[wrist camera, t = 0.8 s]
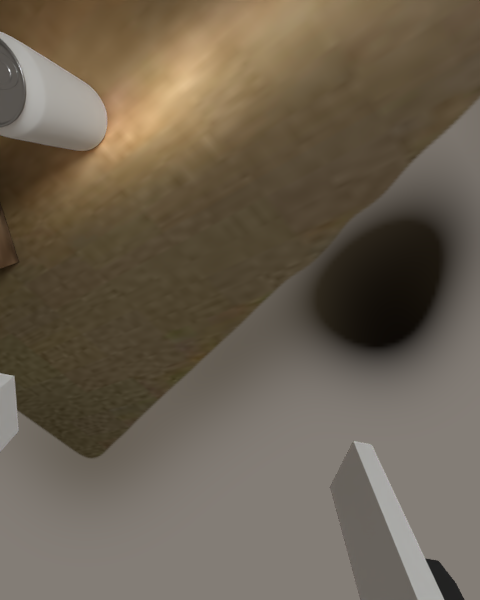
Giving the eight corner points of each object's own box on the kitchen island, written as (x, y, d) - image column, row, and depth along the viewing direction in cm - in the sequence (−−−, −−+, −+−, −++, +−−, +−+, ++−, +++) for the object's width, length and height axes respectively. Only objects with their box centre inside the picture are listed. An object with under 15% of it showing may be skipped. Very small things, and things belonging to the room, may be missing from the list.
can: (120, 136, 31) (51, 110, 20) (69, 161, 32) (-25, 150, 21) (87, 66, 29) (-12, -6, 18) (33, 96, 30) (-93, 45, 19)
